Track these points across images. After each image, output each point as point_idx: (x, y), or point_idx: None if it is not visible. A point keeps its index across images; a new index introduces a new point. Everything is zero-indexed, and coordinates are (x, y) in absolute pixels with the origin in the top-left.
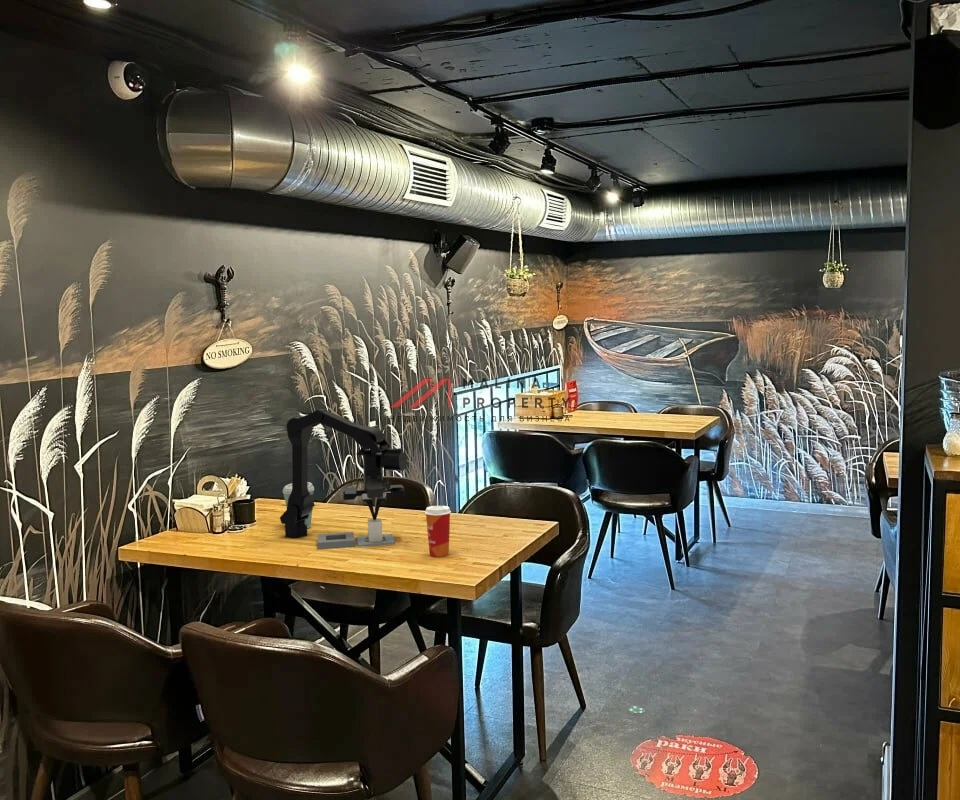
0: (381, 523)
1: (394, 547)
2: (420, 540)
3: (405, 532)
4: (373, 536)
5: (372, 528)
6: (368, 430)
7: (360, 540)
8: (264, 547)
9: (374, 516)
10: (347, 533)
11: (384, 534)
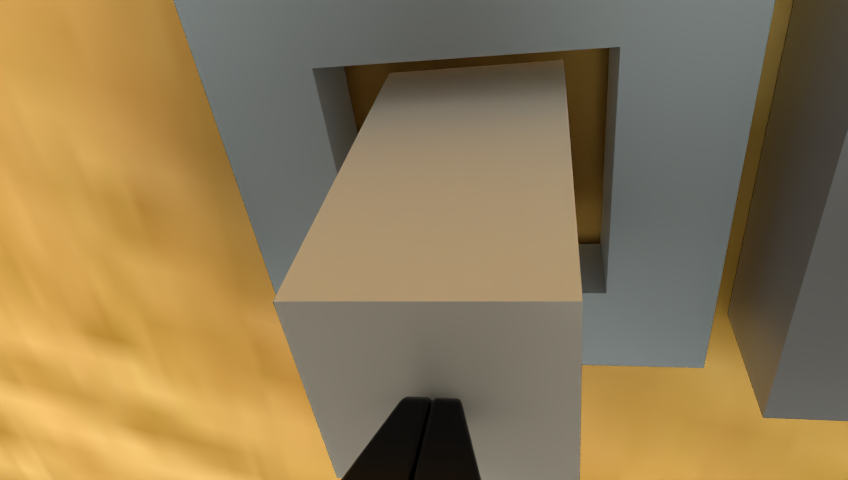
0: (293, 268)
1: None
2: (35, 237)
3: (247, 469)
4: (493, 132)
5: (497, 211)
6: None
7: (695, 174)
8: None
9: (420, 455)
10: None
11: None
